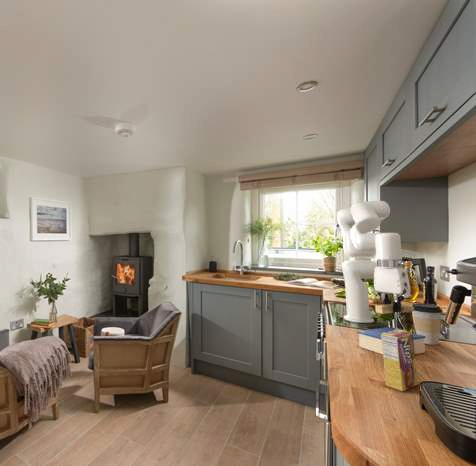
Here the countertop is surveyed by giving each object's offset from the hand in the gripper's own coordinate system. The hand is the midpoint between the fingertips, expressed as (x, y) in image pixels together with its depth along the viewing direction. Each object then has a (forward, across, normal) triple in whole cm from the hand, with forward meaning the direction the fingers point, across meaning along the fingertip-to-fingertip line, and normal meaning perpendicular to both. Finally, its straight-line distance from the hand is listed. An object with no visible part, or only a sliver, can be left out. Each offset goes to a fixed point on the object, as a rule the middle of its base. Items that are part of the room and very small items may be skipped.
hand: (392, 310), depth 113 cm
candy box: (+15, -21, +30) cm, 39 cm away
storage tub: (+15, 0, +2) cm, 15 cm away
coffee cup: (+15, +1, -20) cm, 25 cm away
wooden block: (0, 0, -1) cm, 1 cm away
